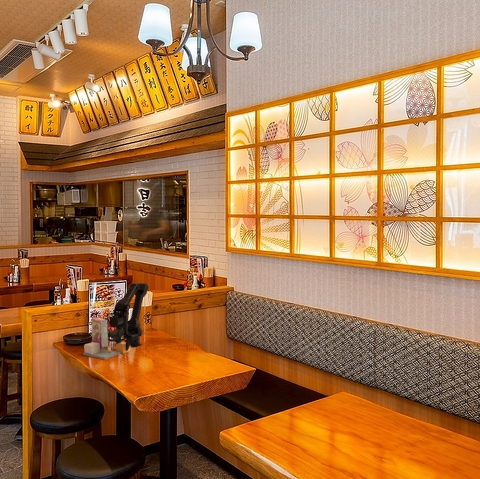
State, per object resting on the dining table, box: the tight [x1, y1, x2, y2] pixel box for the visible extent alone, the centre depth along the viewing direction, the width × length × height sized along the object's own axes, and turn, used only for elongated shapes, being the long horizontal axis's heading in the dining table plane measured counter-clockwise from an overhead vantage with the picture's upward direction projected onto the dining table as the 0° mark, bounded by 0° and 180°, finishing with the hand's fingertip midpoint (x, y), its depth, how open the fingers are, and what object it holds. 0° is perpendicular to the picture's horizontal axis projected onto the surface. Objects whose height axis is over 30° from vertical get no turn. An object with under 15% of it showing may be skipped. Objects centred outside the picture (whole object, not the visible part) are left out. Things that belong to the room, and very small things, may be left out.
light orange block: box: [115, 341, 131, 355], centre depth 292 cm, size 6×6×5 cm
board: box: [82, 341, 121, 360], centre depth 286 cm, size 12×17×6 cm
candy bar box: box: [90, 317, 109, 349], centre depth 304 cm, size 11×5×16 cm, turn 47°
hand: (123, 349), depth 292 cm, fingers closed on light orange block, 6 cm apart
